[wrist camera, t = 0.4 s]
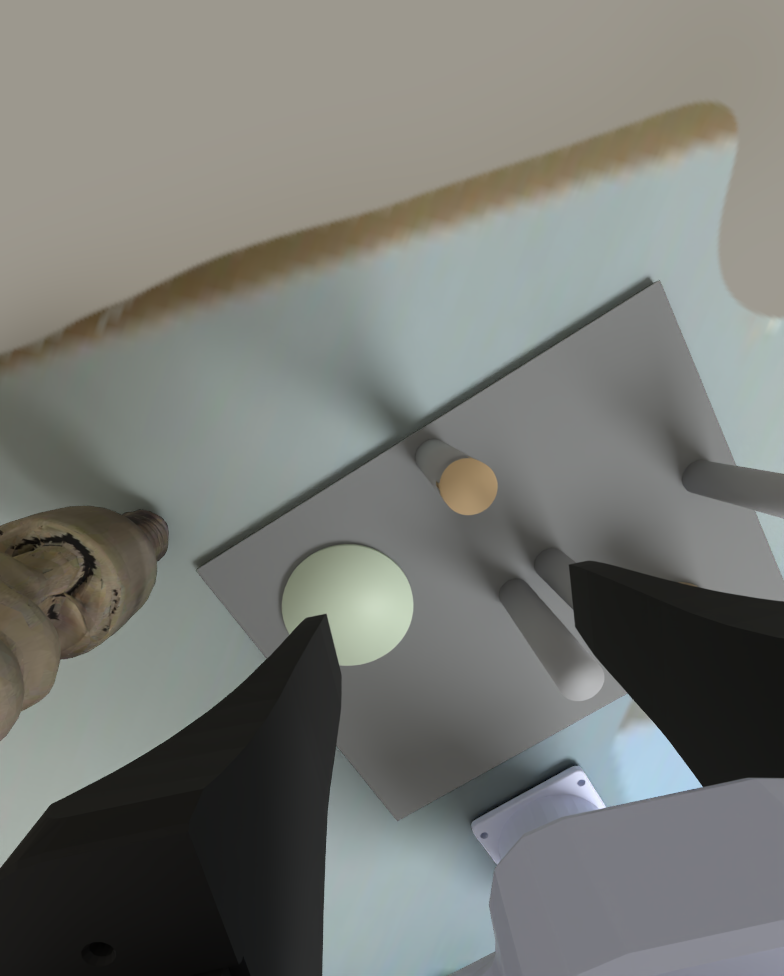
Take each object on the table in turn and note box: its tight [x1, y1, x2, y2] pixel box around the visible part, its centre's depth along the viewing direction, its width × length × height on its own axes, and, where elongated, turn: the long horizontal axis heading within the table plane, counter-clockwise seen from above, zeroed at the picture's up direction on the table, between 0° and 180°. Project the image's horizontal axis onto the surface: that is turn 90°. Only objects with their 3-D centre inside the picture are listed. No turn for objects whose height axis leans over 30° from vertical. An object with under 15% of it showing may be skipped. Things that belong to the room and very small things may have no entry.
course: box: [196, 280, 784, 821], centre depth 18 cm, size 20×27×8 cm
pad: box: [282, 544, 413, 666], centre depth 21 cm, size 7×7×1 cm
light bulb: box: [0, 506, 169, 741], centre depth 13 cm, size 6×6×15 cm
